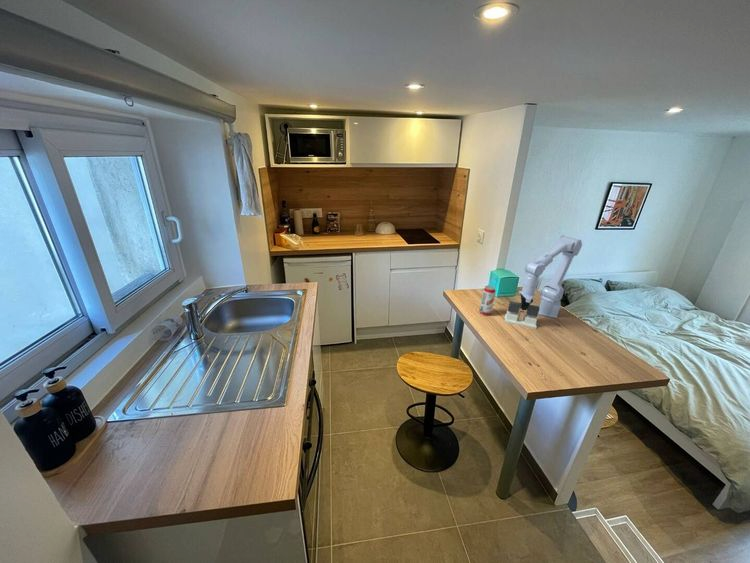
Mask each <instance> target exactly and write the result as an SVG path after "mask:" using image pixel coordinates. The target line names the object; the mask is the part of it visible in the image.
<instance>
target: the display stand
mask: <svg viewBox="0 0 750 563" xmlns="http://www.w3.org/2000/svg"><path fill="white" fill-rule="evenodd" d="M504 323H505V324H511V325H515V326H516V325H517V326H520V327H521V326H522V327H527V328H532V329H535V330H536V329H537V317H535V316H530V315H526V312H525V310H519V313H514V312H509V311H508V309H507V310H506V313H505V314H504Z"/></svg>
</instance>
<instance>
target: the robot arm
mask: <svg viewBox="0 0 750 563" xmlns="http://www.w3.org/2000/svg"><path fill="white" fill-rule="evenodd" d="M582 247H583V242H582V240H581V239H577V238H574V237H569V236H565V235H560V236H559V237H558V238H557V240H556V241H555V245H554V246H552V248H550V250H548V252H545V253H542V254H541V255H540V256H539V257H537V258H536V259H535V260H534V261H529V262H528V263H527V264H526V265H525V267H524V271H525V272H524V273H525V274H524V275H525V277H524V282H523V286H522V290H519V291H518V294H520V301H521V302H520V303H522V306H521V311H524V312H525V311H527V308H528V306H529V305H532V303H533V302H534V299H533V298H534V297H535V292H536V288H537V285H538V281H539V278H540V276H541V275H542V274H543V272H544V271H545V270H546V268H547V267H548V266H549V265H550V264H552V263H553V260H554V258H555V257H557V256H558V255H560V254H562V255H561V257H560V260H559V262H558V264H557V267H556V268H555V270H554V273H553V275H552V277H551V280H550V281H547V282H544V283H543V285H542V287H541V288H540V289H539V290H540V291H539V295H540V297H541V300H540V304H539V305H538V306H539V308H540V309H539V312H538V316H539V315H540V316H544V317H550V318H556V319H557V318H558V315H559V312H560V309H561V305H562V304H561V300H562V299H563V295H564V292H565V288H564V287H563V286H562V282H563V280H564V278H565V276H566V274H567V272H568V270H569V268H570V265H571V264H572V262H573V259H574V257H576V256H578V255H579V253H580V251H581V249H582Z"/></svg>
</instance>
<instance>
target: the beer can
mask: <svg viewBox="0 0 750 563" xmlns="http://www.w3.org/2000/svg"><path fill="white" fill-rule="evenodd" d="M495 296H496V287H494V286H492V285H485V286H484V288H483V291H482V296H481V299H480V306H479V313H480V314H481V315H483V316H489V315H491V314H492V310H493V306H494V303H495V302H494V301H495Z"/></svg>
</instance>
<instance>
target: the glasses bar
mask: <svg viewBox="0 0 750 563" xmlns="http://www.w3.org/2000/svg"><path fill="white" fill-rule="evenodd" d="M521 306H522V303H521V302H518V301H510V300H509V304H508V308H507V310H508V311H509V312H514V313H517V314H519V313H520V309H521ZM539 306H540V305H535V304H533V305H532V304H530V305H529V306H528V308H527V310H526V312H525V314H526V315H530V316H535V317H536V318H537V317H538V316H539V314H538V312H539V309H540V308H539ZM521 310H522V309H521Z"/></svg>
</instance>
